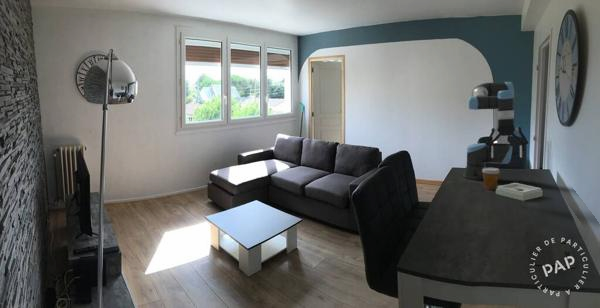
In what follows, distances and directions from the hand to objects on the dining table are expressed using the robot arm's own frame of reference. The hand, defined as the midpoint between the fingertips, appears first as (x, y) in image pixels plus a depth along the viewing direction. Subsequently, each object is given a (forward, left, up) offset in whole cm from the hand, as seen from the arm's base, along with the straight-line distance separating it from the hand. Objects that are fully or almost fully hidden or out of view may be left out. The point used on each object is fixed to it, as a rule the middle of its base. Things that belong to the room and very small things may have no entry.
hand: (506, 157), depth 192 cm
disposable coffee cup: (-9, -16, -22) cm, 29 cm away
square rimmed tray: (-9, +2, -22) cm, 24 cm away
